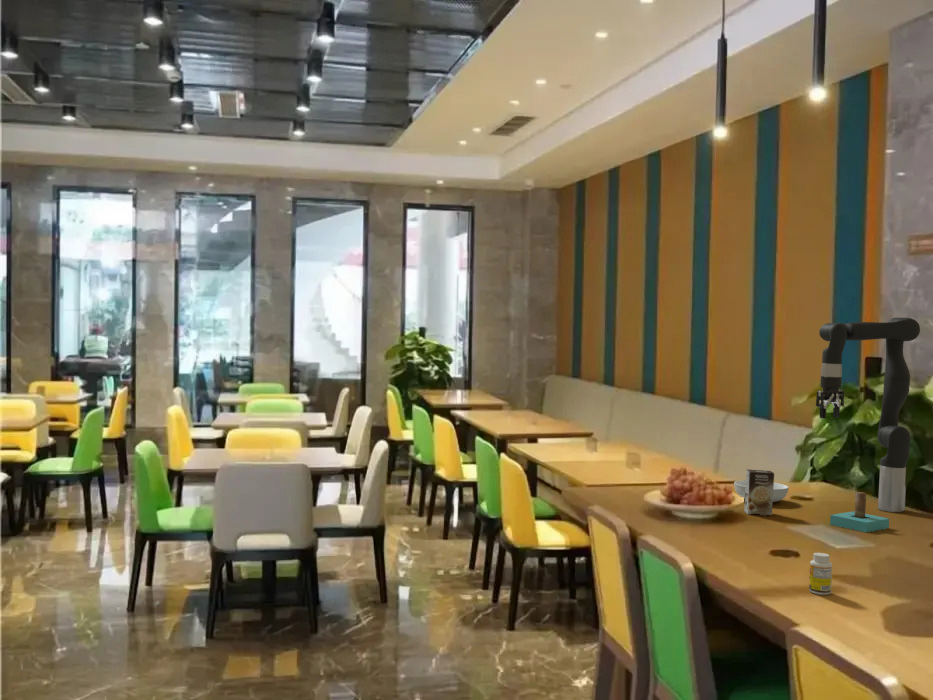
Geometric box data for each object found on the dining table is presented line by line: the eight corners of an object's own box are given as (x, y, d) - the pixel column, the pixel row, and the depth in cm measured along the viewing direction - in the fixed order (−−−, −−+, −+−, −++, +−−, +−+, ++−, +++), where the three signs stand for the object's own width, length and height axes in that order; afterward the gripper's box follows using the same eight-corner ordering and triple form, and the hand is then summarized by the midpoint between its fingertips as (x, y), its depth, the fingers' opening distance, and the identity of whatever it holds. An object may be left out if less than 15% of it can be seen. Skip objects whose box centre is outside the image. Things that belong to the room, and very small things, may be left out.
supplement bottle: (813, 588, 254) (814, 550, 254) (834, 592, 251) (835, 554, 250) (805, 592, 250) (807, 554, 250) (826, 596, 246) (828, 558, 246)
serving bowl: (795, 507, 369) (795, 489, 369) (741, 505, 369) (741, 488, 369) (778, 497, 390) (779, 480, 389) (727, 495, 390) (728, 478, 390)
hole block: (853, 520, 346) (853, 511, 346) (888, 528, 334) (889, 518, 334) (830, 524, 338) (830, 514, 338) (866, 532, 326) (866, 522, 326)
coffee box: (747, 514, 351) (749, 471, 351) (743, 511, 357) (745, 469, 357) (772, 516, 350) (774, 472, 350) (768, 512, 357) (770, 470, 356)
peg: (857, 525, 339) (859, 491, 338) (866, 527, 336) (868, 493, 335) (852, 526, 337) (853, 492, 336) (861, 528, 334) (862, 494, 333)
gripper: (833, 374, 366) (831, 416, 367) (811, 375, 358) (809, 417, 359) (851, 376, 360) (849, 418, 361) (828, 376, 352) (826, 419, 353)
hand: (829, 417), depth 360 cm, fingers open, 8 cm apart
